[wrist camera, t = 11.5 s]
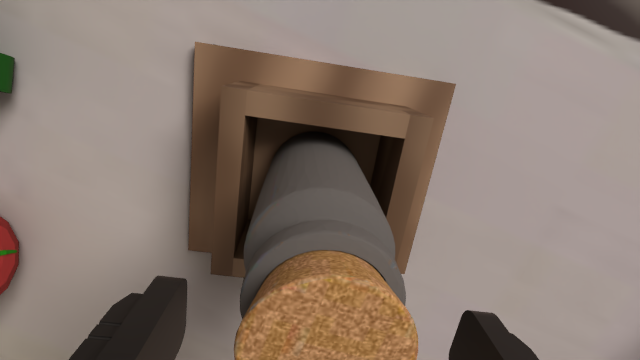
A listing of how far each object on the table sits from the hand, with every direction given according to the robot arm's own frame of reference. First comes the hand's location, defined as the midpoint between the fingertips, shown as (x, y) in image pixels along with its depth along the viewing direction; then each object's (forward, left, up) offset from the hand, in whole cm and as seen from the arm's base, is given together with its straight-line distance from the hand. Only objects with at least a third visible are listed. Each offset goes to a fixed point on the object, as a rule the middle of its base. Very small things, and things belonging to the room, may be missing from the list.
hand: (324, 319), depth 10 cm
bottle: (0, 0, -14) cm, 14 cm away
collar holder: (0, 0, -15) cm, 15 cm away
